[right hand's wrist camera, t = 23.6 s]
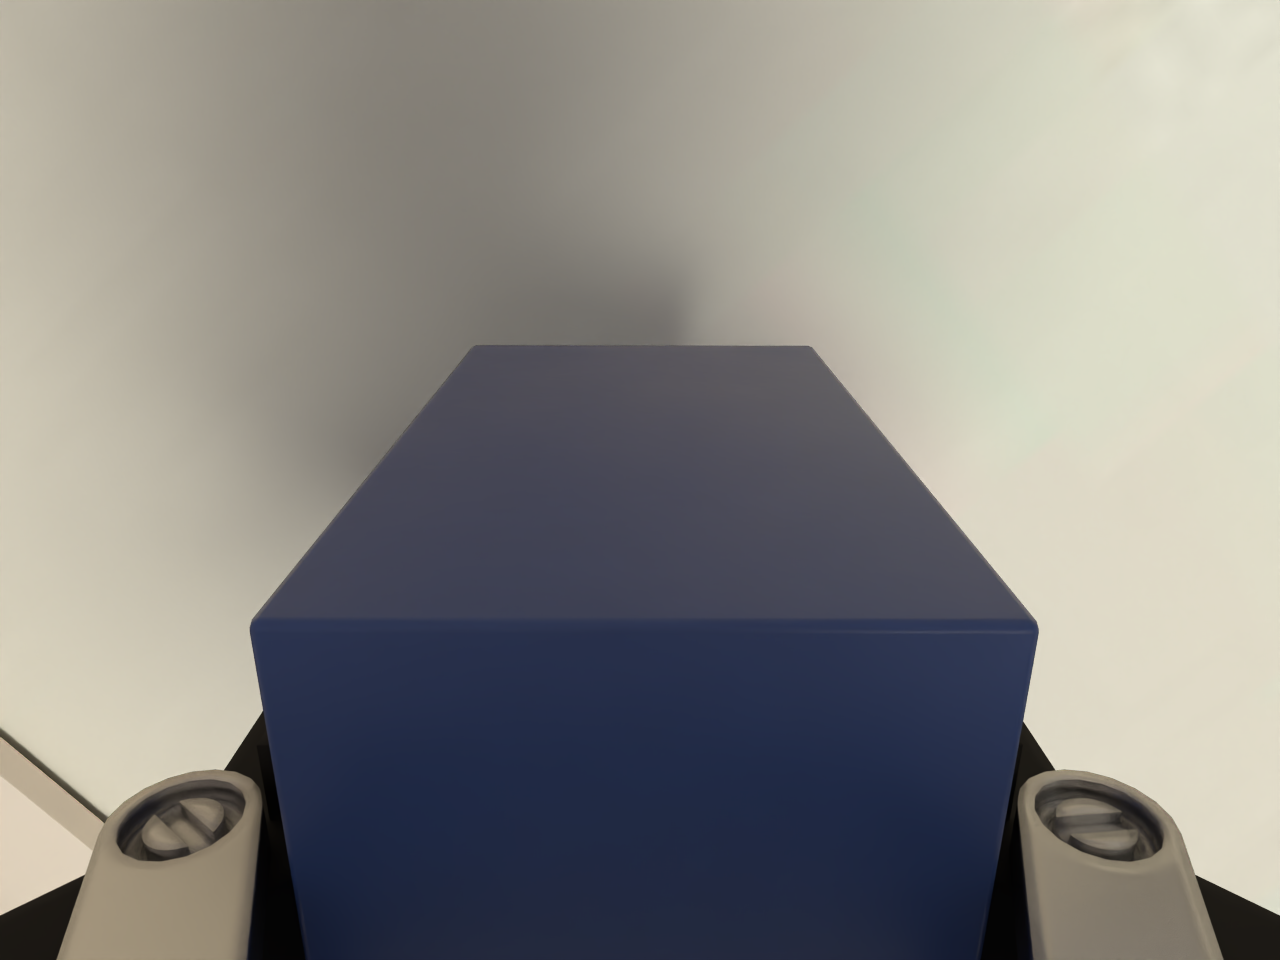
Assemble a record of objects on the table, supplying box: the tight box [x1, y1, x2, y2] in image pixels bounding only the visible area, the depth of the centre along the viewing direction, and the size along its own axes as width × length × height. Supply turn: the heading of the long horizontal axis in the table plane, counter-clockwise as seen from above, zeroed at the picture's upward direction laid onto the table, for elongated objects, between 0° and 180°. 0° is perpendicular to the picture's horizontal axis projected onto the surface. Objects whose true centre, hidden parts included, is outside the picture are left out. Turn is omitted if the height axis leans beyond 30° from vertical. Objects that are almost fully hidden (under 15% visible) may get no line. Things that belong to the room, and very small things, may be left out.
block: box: [250, 345, 1039, 960], centre depth 11 cm, size 5×7×9 cm
